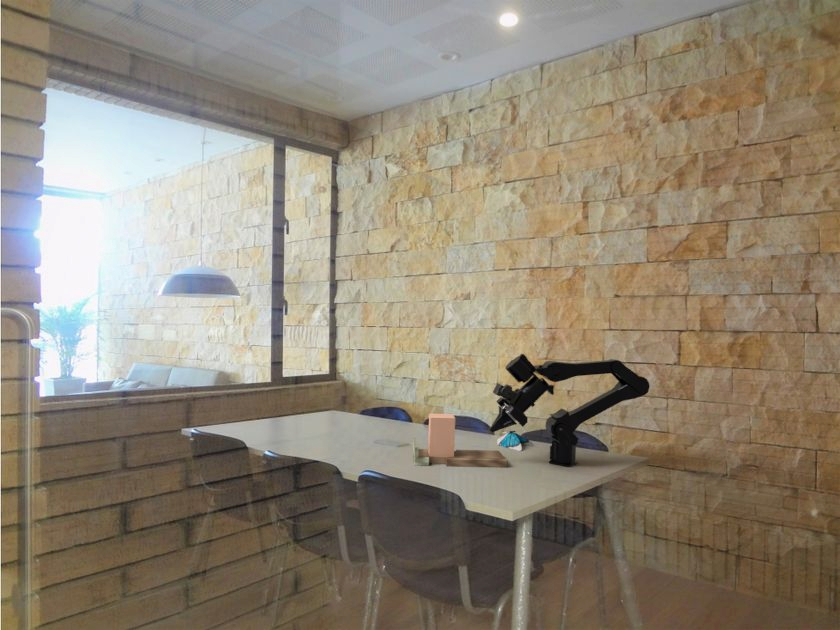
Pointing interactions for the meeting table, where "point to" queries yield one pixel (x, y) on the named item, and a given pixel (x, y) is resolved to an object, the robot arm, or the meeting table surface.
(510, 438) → the decorative butterfly
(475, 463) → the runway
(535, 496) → the meeting table surface
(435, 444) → the block
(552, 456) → the robot arm
